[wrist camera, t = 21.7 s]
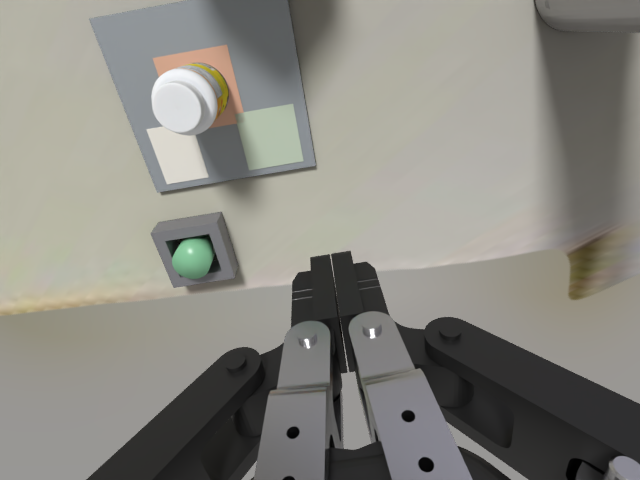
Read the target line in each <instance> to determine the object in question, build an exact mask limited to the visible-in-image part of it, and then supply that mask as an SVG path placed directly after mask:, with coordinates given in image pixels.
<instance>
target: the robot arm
mask: <svg viewBox="0 0 640 480" xmlns="http://www.w3.org/2000/svg"><path fill="white" fill-rule="evenodd" d="M535 2H536V7H537V9H538V12H539V14H540V16H541V17H542V19H543V20H544V21H545V22H546V23H547V24H548V25H549V26H551V27H552V28H554V29H557V30H561V31H582V32H636V33H640V0H535ZM331 256H332V263H333V270H334V277H333V271H332V265H331V259H330V254H328V255H322V256H315V257H310V261H311V271H306V272H299V273H298V274H297V276H296V277H295V279H294V280H293V283H292V317H291V329H290V330H289V331H288V332H287V334H286V336H285V339H284V343H283V344H281V345H280V346H279V347H277V348H275V349H273V350H271V351H269V352H266V353H264V354H261V355H259V353H258V352H257V351H256V350H254V349H252V348H248V347H242V348H236V349H233V350H230V351H229V352H227V353H225V354H224V355H222V356H221V357H220V358H219V359H218V360H217V361H216V362H214V363H213V365H211V366H210V367H209V368H208V369H207V370H206V371H205V372H204V373H202V375H200V376H199V377H198V378H197V379H196V380H195V381H194V382H193V383H192V384H190V386H188V387H187V388H186V389H185V390H184V391H183V392H182V393H181V394H180V395H178V396H177V397H176V398H175V399H174V400H173V401H172V402H171V403H170V404H169V405H167V406H166V407H165V408H164V409H163V410H162V411H161V412H160V413H159V414H158V415H157V416H155V417H154V418H153V419H152V420H151V421H150V422H149V423H148V424H147V425H146V426H145V427H144V428H142V429H141V430H140V431H139V432H138V433H137V434H136V435H135V436H134V437H133V438H131V440H129V441H128V442H127V443H126V444H125V445H124V446H123V447H122V448H121V449H119V450H118V451H117V452H116V453H115V454H114V455H113V456H112V457H111V458H110V459H108V460H107V461H106V462H105V463H104V464H103V465H102V466H101V467H100V468H99V469H98V470H97V471H95V472H94V473H93V474H92V475H91V476H90V477H89V478H88V479H87V480H241V479H242V478H243V477H244V476H245V474H246V473H247V472H248V471H249V469H250V468H251V467H252V466H253V464H254V463H255V462H256V461H257V463H256V469H255V475H254V477H253V478H252V479H251V480H511V479H509V478H508V477H507V476H505V475H504V474H502V473H501V472H500V471H499V470H498V469H496V468H495V467H494V466H492V465H491V464H490V463H488V462H487V461H486V460H484V459H483V458H481V457H479V456H478V455H476V454H474V453H472V452H470V451H468V450H466V449H464V448H461V447H459V446H457V444H456V442H455V440H454V438H453V436H452V434H451V431H450V429H449V427H448V425H447V423H446V422H448V423H449V424H451V425H452V426H454V427H455V428H456V429H458V430H459V431H461V432H462V433H463V434H465V435H466V436H468V437H469V438H471V439H472V440H473V441H475V442H476V443H478V444H479V445H481V446H482V447H483V448H485V449H486V450H488V451H489V452H491V453H492V454H493V455H495V456H496V457H498V458H499V459H500V460H502V461H503V462H505V463H506V464H507V465H509V466H510V467H512V468H513V469H515V470H516V471H518V472H519V473H520V474H522V475H523V476H524V477H526V478H527V479H529V480H640V404H639V403H636V402H634V401H632V400H630V399H628V398H626V397H624V396H621V395H620V394H617V393H615V392H613V391H611V390H609V389H607V388H605V387H603V386H601V385H599V384H596V383H594V382H592V381H590V380H588V379H586V378H584V377H582V376H579V375H577V374H575V373H573V372H571V371H569V370H567V369H565V368H563V367H561V366H558V365H556V364H554V363H552V362H550V361H548V360H546V359H543V358H542V357H539V356H537V355H535V354H533V353H531V352H529V351H527V350H525V349H523V348H520V347H518V346H516V345H514V344H512V343H510V342H508V341H506V340H504V339H501V338H499V337H497V336H495V335H493V334H491V333H489V332H487V331H485V330H483V329H480V328H478V327H476V326H474V325H472V324H470V323H468V322H466V321H463V320H461V319H458V318H453V317H443V318H438V319H435V320H433V321H431V322H430V323H429V324H428V325H427V326H426V328H425V330H423V329H412V328H407V327H404V326H401V325H399V324H397V323H396V322H395V321H394V320H393V319H392V318H391V317H390V315H389V313H388V310H387V307H386V303H385V300H384V297H383V293H382V290H381V287H380V284H379V280H378V278H377V274H376V271H375V268H373V267H372V266H371V265H370V264H369V263H368V262H362V263H356V264H353V260H352V256H351V251H346V252H340V253H334V254H331ZM334 278H335V282H334ZM335 285H336V288H335ZM336 292H337V294H336ZM337 300H338V301H337ZM338 307H339V308H338ZM339 314H340V315H339ZM340 320H341V322H340ZM341 326H342V330H341ZM342 332H343V337H344V343H345V349H346V355H347V361H348V367H349V371H350V372H354V371H355V372H356V379H357V384H358V390H359V395H360V400H361V404H362V407H363V411H364V415H365V419H366V423H367V427H368V431H369V435H370V439H371V443H372V444H369V445H367V446H364V447H362V448H360V449H356V450H348V449H344V445H343V406H342V392H341V389H342V379H341V373H347V366H346V359H345V352H344V344H343V337H342ZM216 432H217V433H216Z"/></svg>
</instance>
